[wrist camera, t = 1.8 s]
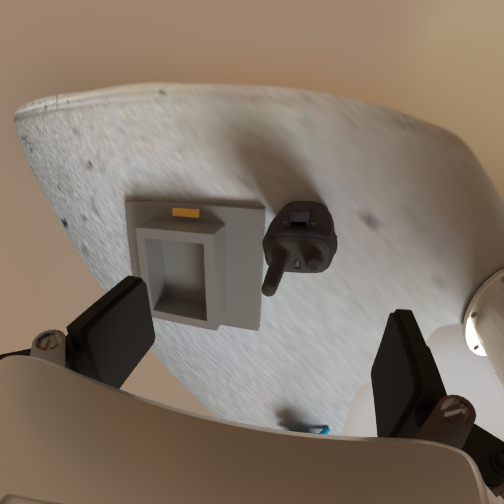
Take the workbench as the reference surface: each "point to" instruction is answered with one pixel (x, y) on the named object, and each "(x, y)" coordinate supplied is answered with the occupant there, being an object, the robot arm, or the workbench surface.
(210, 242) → the charging cradle
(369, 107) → the workbench surface
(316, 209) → the two-way radio
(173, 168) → the workbench surface
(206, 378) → the workbench surface
